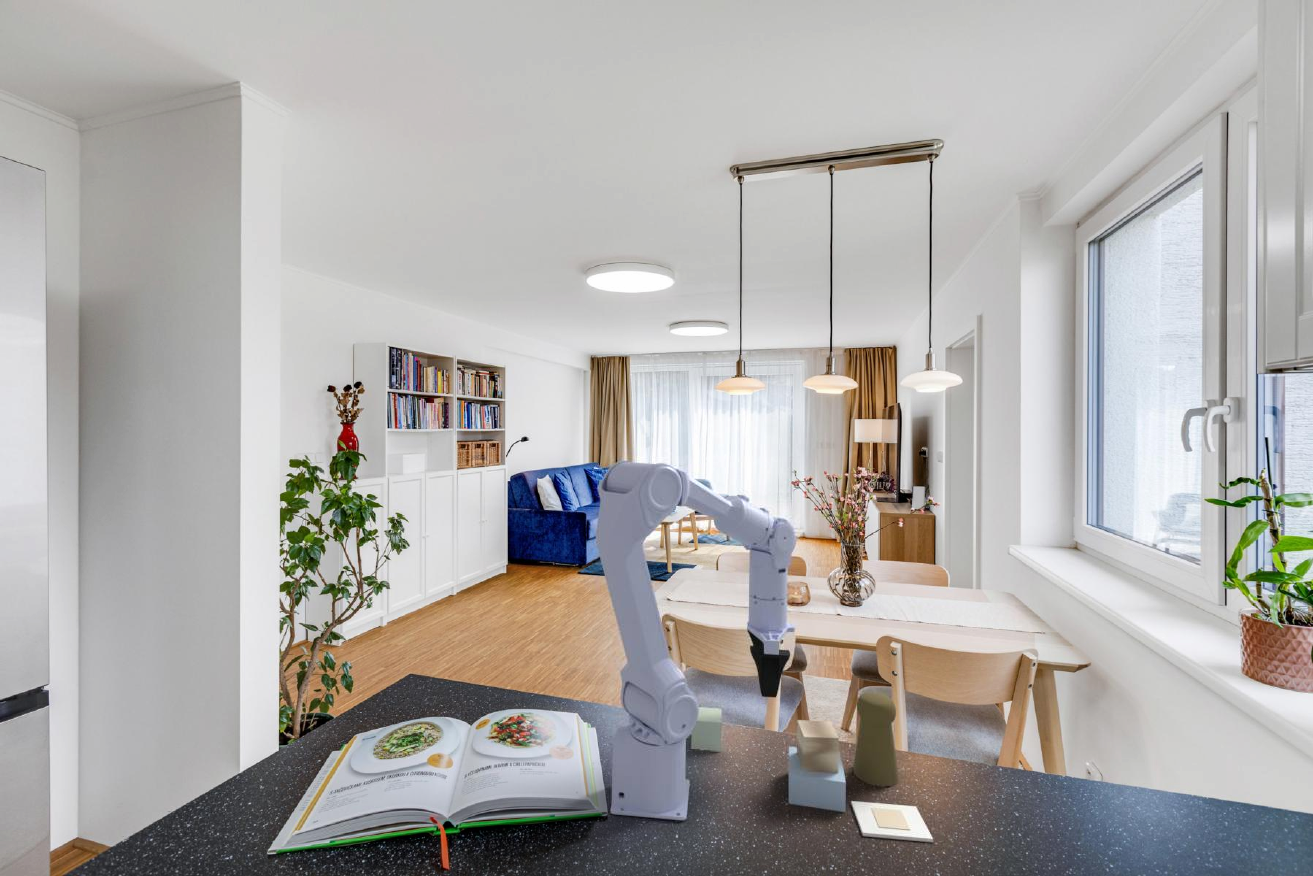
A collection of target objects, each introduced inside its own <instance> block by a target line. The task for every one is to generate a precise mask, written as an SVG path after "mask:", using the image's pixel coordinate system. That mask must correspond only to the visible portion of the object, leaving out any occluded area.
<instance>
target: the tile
mask: <svg viewBox="0 0 1313 876" xmlns="http://www.w3.org/2000/svg"><path fill="white" fill-rule="evenodd" d="M850 804H851V807H852V809H853V814H854V816H855V818H856V821H857V824H858V827H859V829H860V833H861V835H862V836H863V837H871V838H881V839H882V838H883V839H892V840H902V841H903V840H904V841H914V842H915V841H916V842H924V843H925V842H926V843H934V837H933V836H932V834H931V832H930V830H929V829H928V826H927V825H926V824H927V823H925V821H924V819H923V816H922V815H921V814H920V811H919V809H918V807H917V806H915V805H914V806H912V805H903V804H901V805H900V804H889V803H880V802H879V803H877V802H867V801H856V800H854V801H853V800H851V802H850Z"/></svg>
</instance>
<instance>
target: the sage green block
mask: <svg viewBox="0 0 1313 876" xmlns="http://www.w3.org/2000/svg"><path fill="white" fill-rule="evenodd" d="M722 711H723V710H722V708H717V707H715V708H714V707H705V706H704V707H702V706H699V714H698V719H697V722H696V724H695V726H694V728H693V730H692V731H691V742H690V743H691V749H704V750H710V751H709V752H719V753H720V752H721V753H722V728H723V727H722V722H723V721H722V720H723V719H722V717H723V716H722V713H723V712H722Z"/></svg>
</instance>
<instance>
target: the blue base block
mask: <svg viewBox="0 0 1313 876" xmlns="http://www.w3.org/2000/svg"><path fill="white" fill-rule="evenodd" d="M842 759H843V758H842V753H841V752H839V769H838V773H830V772H809V771H803V768H802V765H801V763H800V760H799V757H798V754H797V746H788V804H790V805H796V806H802V807H811V808H817V809H822V810H830V811H836V812H842V813H846V807H847V805H846V804H847V803H846V801H847V800H846V798H847V797H846V795H847V793H846V792H847V790H846V788H847V786H846V785H847V782H846V776H845V770H844V764H843V760H842Z"/></svg>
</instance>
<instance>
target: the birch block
mask: <svg viewBox="0 0 1313 876" xmlns="http://www.w3.org/2000/svg"><path fill="white" fill-rule="evenodd" d="M796 723H797V724H796V727H797V728H796V729H797V730H796V748H797V754H798V757H799V760H800V763H801V765H802V768H803V771H809V772H830V773H838V769H839V753H840V751H839V750H840V749H839V748H840V747H839V746H840V738H839V736H838V734H837V732H836V730H835V729H834V726H833V724H832V722H831V721H830V720H828V721H827V720H805V719H804V720H803V719H797V720H796Z"/></svg>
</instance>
